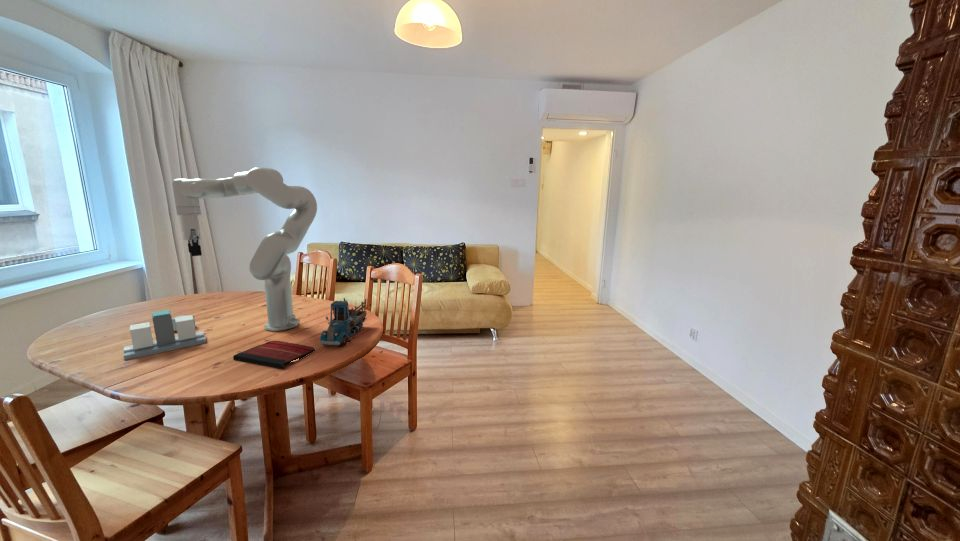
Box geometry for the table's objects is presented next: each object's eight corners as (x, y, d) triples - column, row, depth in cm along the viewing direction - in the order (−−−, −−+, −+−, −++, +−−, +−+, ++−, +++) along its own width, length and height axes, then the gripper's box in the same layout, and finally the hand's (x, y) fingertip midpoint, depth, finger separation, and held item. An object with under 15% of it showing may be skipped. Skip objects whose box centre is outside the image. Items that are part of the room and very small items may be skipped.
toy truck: (315, 349, 132) (312, 310, 129) (345, 324, 157) (343, 291, 153) (343, 350, 131) (341, 311, 128) (369, 325, 156) (367, 292, 153)
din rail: (203, 333, 140) (203, 331, 140) (204, 336, 137) (204, 334, 137) (124, 349, 125) (123, 347, 125) (124, 352, 123) (123, 350, 123)
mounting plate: (202, 334, 143) (202, 331, 142) (206, 342, 135) (205, 338, 135) (125, 350, 128) (124, 346, 128) (124, 360, 121) (123, 355, 121)
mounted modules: (194, 332, 139) (191, 314, 137) (196, 336, 135) (193, 319, 133) (133, 344, 128) (130, 325, 126) (133, 349, 123) (129, 330, 122)
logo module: (174, 336, 135) (169, 309, 133) (175, 341, 131) (170, 313, 128) (156, 339, 132) (151, 312, 129) (157, 344, 127) (151, 316, 125)
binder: (282, 364, 116) (232, 354, 122) (283, 370, 117) (233, 361, 123) (317, 346, 131) (271, 338, 137) (318, 352, 132) (272, 344, 138)
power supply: (195, 326, 151) (194, 315, 150) (187, 330, 146) (185, 319, 145) (180, 326, 150) (178, 315, 149) (172, 330, 146) (170, 319, 145)
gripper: (174, 210, 146) (181, 252, 150) (178, 212, 134) (185, 258, 137) (198, 209, 151) (204, 250, 155) (203, 212, 139) (209, 256, 142)
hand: (195, 254), depth 146 cm, fingers open, 9 cm apart
